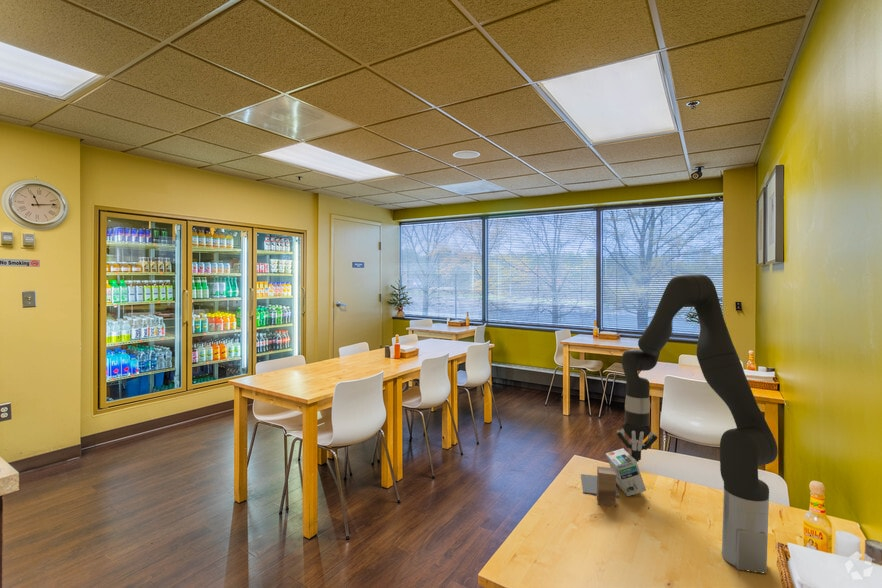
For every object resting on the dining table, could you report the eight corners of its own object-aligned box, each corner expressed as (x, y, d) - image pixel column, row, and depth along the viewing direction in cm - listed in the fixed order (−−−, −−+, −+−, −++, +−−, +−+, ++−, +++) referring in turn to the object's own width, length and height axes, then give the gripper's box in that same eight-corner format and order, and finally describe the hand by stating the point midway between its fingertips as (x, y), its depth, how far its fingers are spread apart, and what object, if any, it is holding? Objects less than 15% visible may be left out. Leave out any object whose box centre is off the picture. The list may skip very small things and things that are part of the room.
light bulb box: (647, 491, 141) (636, 459, 141) (627, 497, 141) (616, 466, 141) (633, 476, 151) (623, 447, 151) (614, 482, 152) (604, 453, 151)
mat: (619, 497, 141) (619, 496, 141) (583, 493, 143) (583, 491, 143) (613, 478, 154) (613, 477, 154) (580, 475, 157) (580, 474, 157)
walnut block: (615, 506, 135) (616, 474, 135) (598, 504, 136) (598, 472, 136) (613, 499, 140) (614, 468, 139) (596, 497, 141) (597, 466, 141)
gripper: (617, 410, 143) (616, 462, 144) (661, 414, 140) (660, 467, 141) (614, 404, 151) (613, 454, 151) (656, 407, 147) (655, 458, 148)
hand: (635, 460), depth 146 cm, fingers closed
